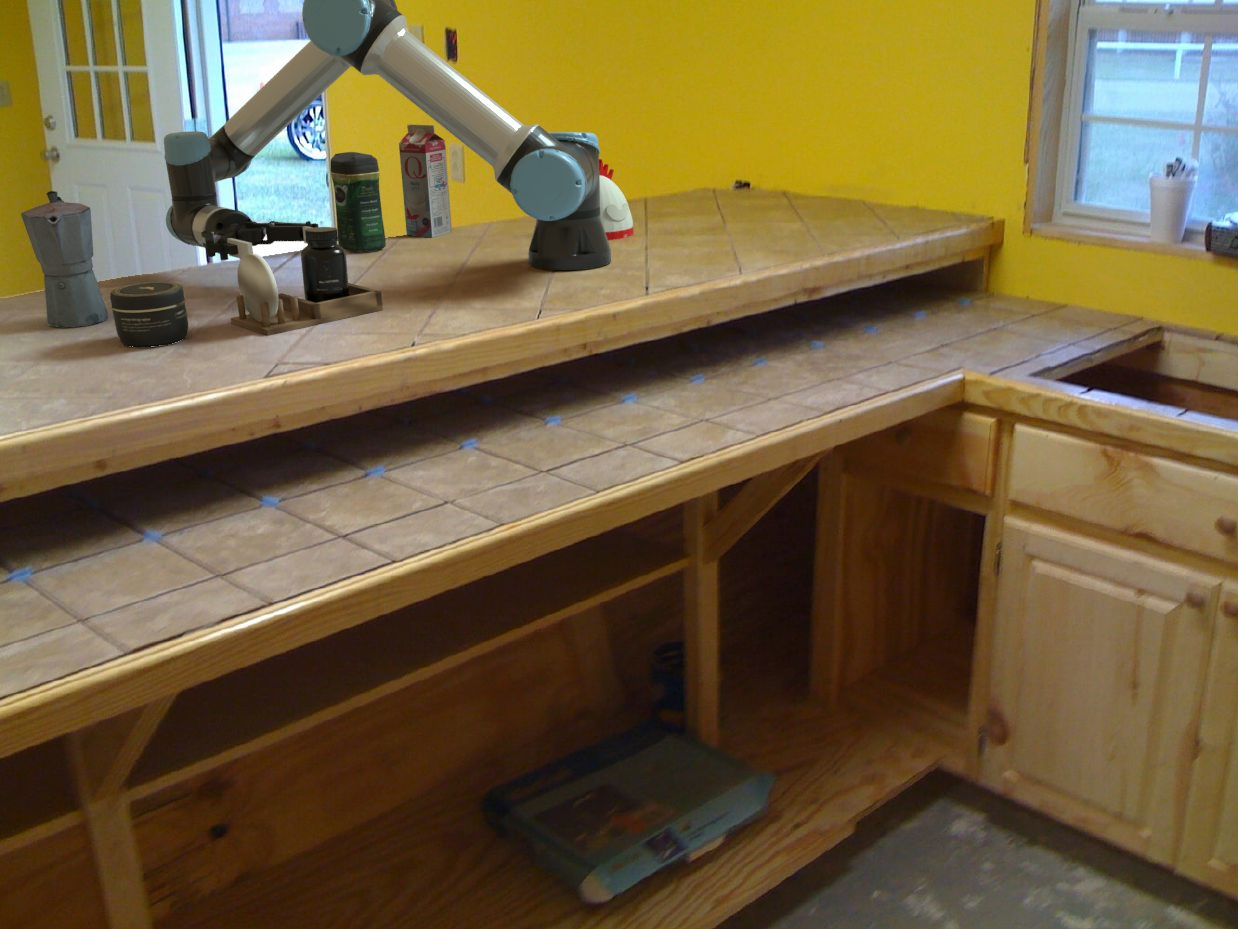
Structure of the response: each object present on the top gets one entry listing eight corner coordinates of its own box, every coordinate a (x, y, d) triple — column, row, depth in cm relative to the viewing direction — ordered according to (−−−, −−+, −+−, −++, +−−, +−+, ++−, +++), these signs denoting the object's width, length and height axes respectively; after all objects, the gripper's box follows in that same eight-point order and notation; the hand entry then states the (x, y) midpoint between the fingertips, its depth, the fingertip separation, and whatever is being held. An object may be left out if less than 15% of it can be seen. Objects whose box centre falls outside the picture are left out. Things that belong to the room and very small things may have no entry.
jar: (137, 331, 178) (129, 280, 175) (202, 331, 177) (194, 280, 174) (105, 349, 168) (95, 296, 166) (173, 349, 167) (164, 296, 165)
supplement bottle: (328, 313, 182) (319, 234, 178) (296, 308, 185) (287, 230, 181) (360, 303, 187) (352, 227, 183) (328, 299, 191) (320, 223, 186)
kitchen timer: (552, 235, 244) (548, 160, 239) (601, 226, 253) (599, 153, 247) (597, 243, 235) (594, 165, 229) (647, 233, 243) (646, 158, 238)
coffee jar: (393, 249, 233) (384, 152, 226) (356, 255, 228) (346, 156, 222) (368, 243, 240) (359, 148, 233) (332, 248, 235) (322, 152, 228)
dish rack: (344, 299, 194) (337, 233, 190) (382, 310, 186) (376, 241, 183) (231, 323, 181) (221, 252, 177) (267, 335, 173) (258, 261, 170)
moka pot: (42, 335, 176) (15, 199, 169) (44, 313, 189) (18, 185, 182) (111, 328, 179) (87, 193, 172) (108, 306, 193) (85, 181, 185)
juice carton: (432, 237, 244) (423, 126, 236) (406, 235, 247) (397, 125, 239) (451, 232, 249) (444, 123, 241) (426, 230, 252) (417, 122, 244)
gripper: (292, 241, 213) (358, 256, 199) (158, 263, 197) (220, 281, 183) (287, 199, 211) (353, 211, 196) (151, 218, 194) (213, 232, 180)
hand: (289, 245), depth 190 cm, fingers open, 13 cm apart
